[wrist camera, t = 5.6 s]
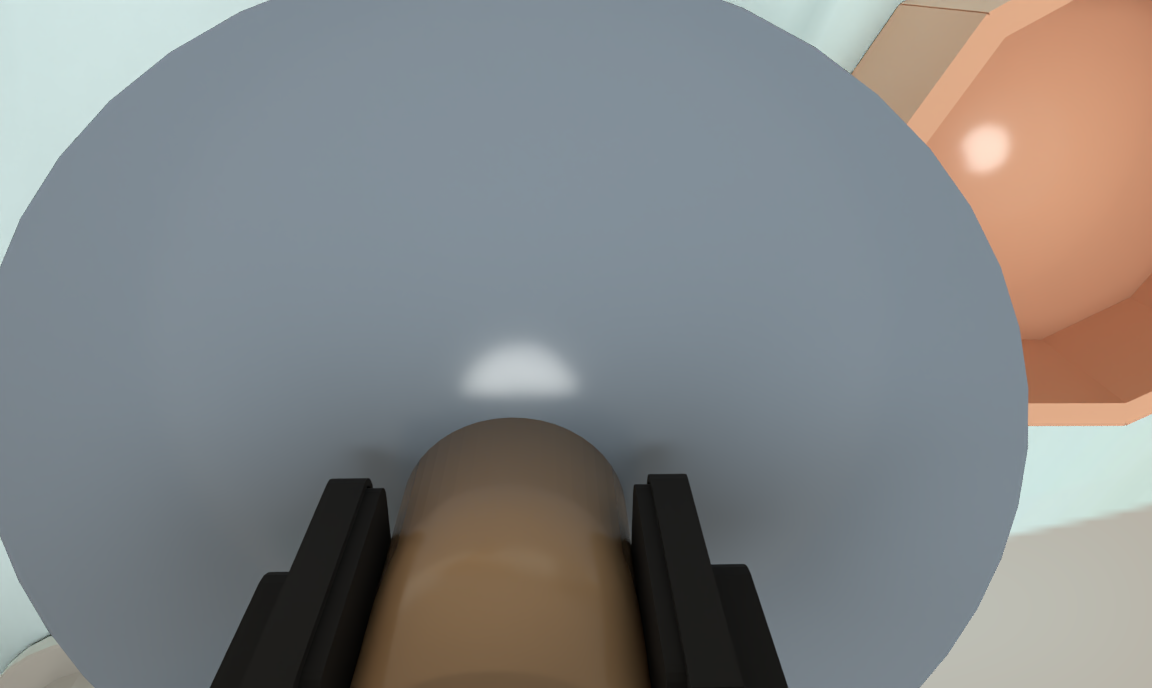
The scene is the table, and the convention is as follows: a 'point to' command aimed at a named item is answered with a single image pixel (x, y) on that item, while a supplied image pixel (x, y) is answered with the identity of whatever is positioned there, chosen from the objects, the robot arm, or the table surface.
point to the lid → (505, 344)
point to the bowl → (1045, 176)
